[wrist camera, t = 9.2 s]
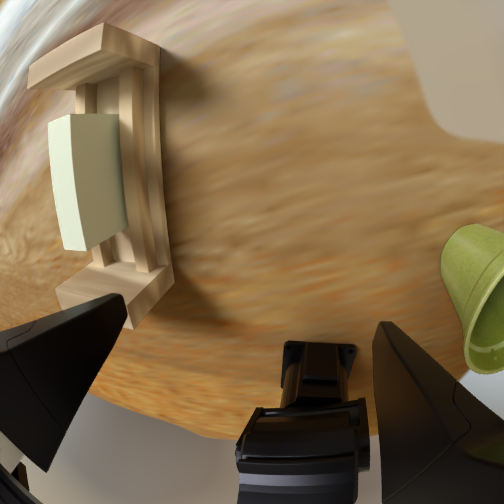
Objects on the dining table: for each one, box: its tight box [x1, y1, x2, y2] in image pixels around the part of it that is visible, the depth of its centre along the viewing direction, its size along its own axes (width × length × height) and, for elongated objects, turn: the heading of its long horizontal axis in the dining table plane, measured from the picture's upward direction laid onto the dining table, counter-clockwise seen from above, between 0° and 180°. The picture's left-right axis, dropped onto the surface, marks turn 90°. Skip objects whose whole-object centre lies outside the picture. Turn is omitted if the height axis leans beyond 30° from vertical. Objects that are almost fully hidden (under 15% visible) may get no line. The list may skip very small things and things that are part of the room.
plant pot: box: [441, 223, 504, 374], centre depth 13 cm, size 9×9×9 cm
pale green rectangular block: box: [48, 114, 129, 251], centre depth 17 cm, size 9×3×6 cm, turn 2°
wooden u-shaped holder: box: [27, 22, 175, 330], centre depth 17 cm, size 20×8×7 cm, turn 1°
